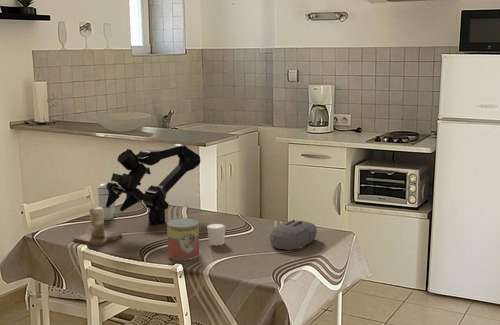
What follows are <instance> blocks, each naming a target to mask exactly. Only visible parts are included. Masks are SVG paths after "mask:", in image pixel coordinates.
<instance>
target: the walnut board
mask: <svg viewBox="0 0 500 325" xmlns="http://www.w3.org/2000/svg"><path fill="white" fill-rule="evenodd" d="M104 232H105V236H104V237H102V238H92V236H91V231H89V232H87V233H84V234H82V235H79V236H75V237H73V242H74V241H76V242H75V243H79V242H80V243H79V244H84V245H89V244H90V246H94V247H101V246H103V245H107V244H109V243H111V242H114V241H115V240H118V239H121V238H123V233H118V232H111V231H107V230H104Z"/></svg>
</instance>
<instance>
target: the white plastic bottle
mask: <svg viewBox="0 0 500 325" xmlns="http://www.w3.org/2000/svg"><path fill="white" fill-rule="evenodd" d="M107 184H108V182H106V183H100V185H98V186H97V197H98V200H97V201H98V207H102V208H103V216H104V220H106V219H107V220H108V219H109V220H111V219H113V218H114V217H115V216H116V215H117V214H116V201H115V202H114V203H113V204H112V205H111V206H109V207H108V208H107V207H106V203H107V199H108V195H109V192H108V190H107V187H106V185H107Z"/></svg>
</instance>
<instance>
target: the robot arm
mask: <svg viewBox="0 0 500 325" xmlns="http://www.w3.org/2000/svg"><path fill="white" fill-rule="evenodd" d="M175 156H177V158H178V164H177V165H176V167H174V168H173V170H171V171H170V173H169V174H168V175H166V177H165V178H164V179H163V180H161V182H160V183H159V184H158V185H153V184H152V185H150V186H149V187H148V188H147V190H144V193H143V191H141V189H139V188H137V187H139V186H141V185H142V183H141V181H142V179H143V178H144V176H145V175H151V174H152V172H151V169H150V167H149V166H151V167H152V166H154V165H156V164H158V163H159V162H160V161H162V160H164V159H167V158H171V157H175ZM201 161H202V160H201V156H200V155H199V153H196V152H195V151H193V150H192V149H190V148H189V147H188V146H186V145H185V144H182V143H181V144H180V143H176V144H173V145H169V146H167V147H162V148H159V149H144V150H143V149H142V150H139V152H138V153H137V154H135V153H134V152H133V150H132V149H130V148H126V150H124V151H122V153H120V154H119V155H118V157H117V162H118V163H119V164H120V165H121V166H122V167H123V168H124V169H126V170H127V171H129V172H128V173H123V174H118V173H113V172H112V175H111V178H110V181H109V182H107V183H108V184H107V185H106V187H107V190H108V192H109V195H108V199H107V203H106V207H107V208H108V207H109V206H111V205H112V204H113V203H114V202H115V203H116V201H117V200H118V199H119V198H120V197H121V195H122V194H126V196H125V197H126V198H125V200H124V201H123V203H122V205H121V206H120V209H119V211H120V212H121V213H122V212H123V211H125V210H127V209H129V208H130V207H133V206H134V205H136V204H137V203H140V202H143V203H144V204H145V208H148V211H147V221H148V223H149V224H150V225H151V226H152V225H162V224H167V221H166V210H167V209H168V208H169V203H168V202H167V201H166V198H167V193H168V192H169V191H170V190H172V189H173V187H174V186H175V185H176V184H177V183H178V181H179V180H181V179H182V178H183V177H184V176H185V174H187V172H190V171H193V170H195V168H197V167H198V166H200V164H201ZM147 166H148V167H147Z"/></svg>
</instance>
